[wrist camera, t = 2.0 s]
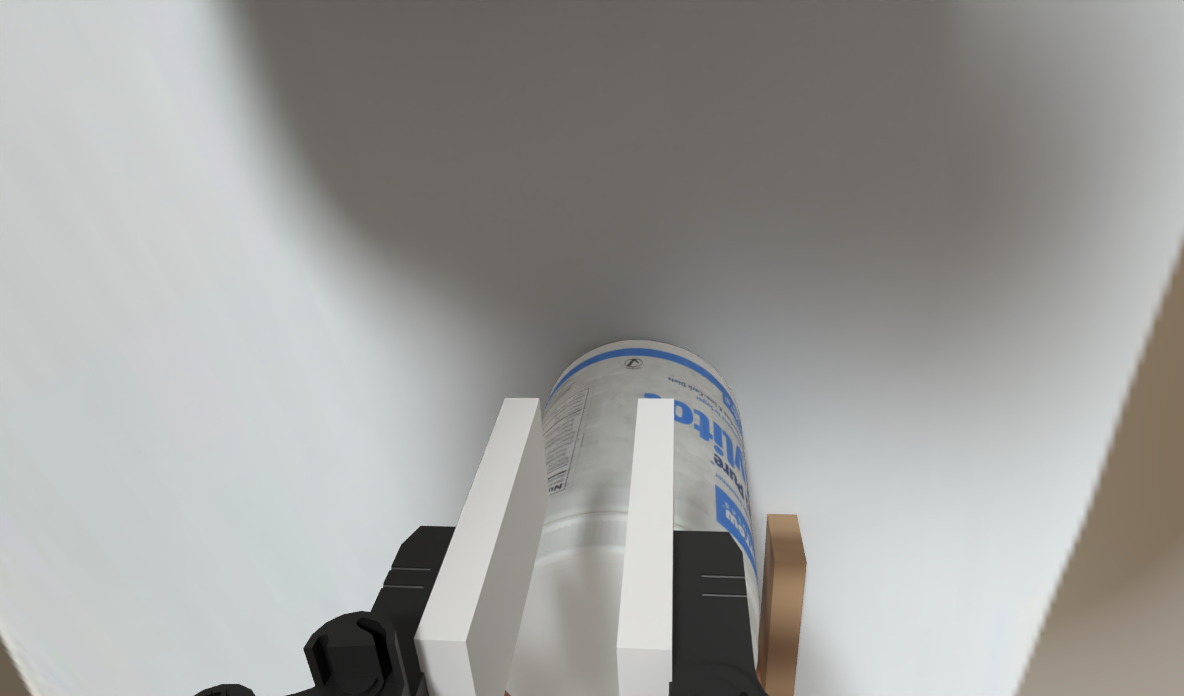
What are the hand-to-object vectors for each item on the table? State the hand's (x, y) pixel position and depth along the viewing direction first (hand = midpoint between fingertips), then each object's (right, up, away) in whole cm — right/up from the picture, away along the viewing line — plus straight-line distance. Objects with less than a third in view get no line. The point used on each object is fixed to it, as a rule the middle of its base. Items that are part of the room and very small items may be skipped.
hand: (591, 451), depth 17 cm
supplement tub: (+2, -1, +22) cm, 22 cm away
